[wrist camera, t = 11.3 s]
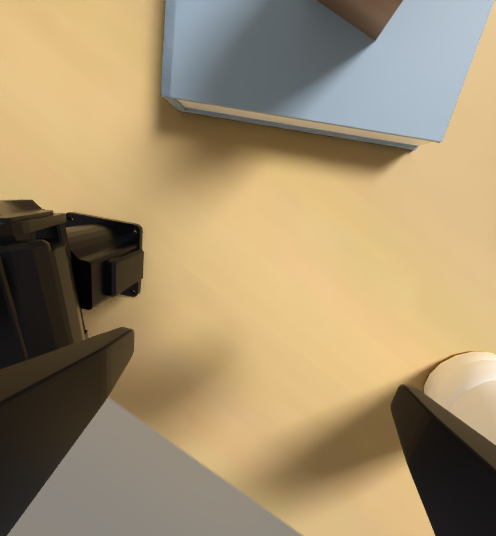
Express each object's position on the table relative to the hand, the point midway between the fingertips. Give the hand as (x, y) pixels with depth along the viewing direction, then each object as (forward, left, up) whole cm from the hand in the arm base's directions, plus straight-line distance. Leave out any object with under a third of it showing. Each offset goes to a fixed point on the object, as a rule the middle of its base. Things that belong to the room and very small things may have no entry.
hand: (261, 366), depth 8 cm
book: (0, +16, -13) cm, 21 cm away
